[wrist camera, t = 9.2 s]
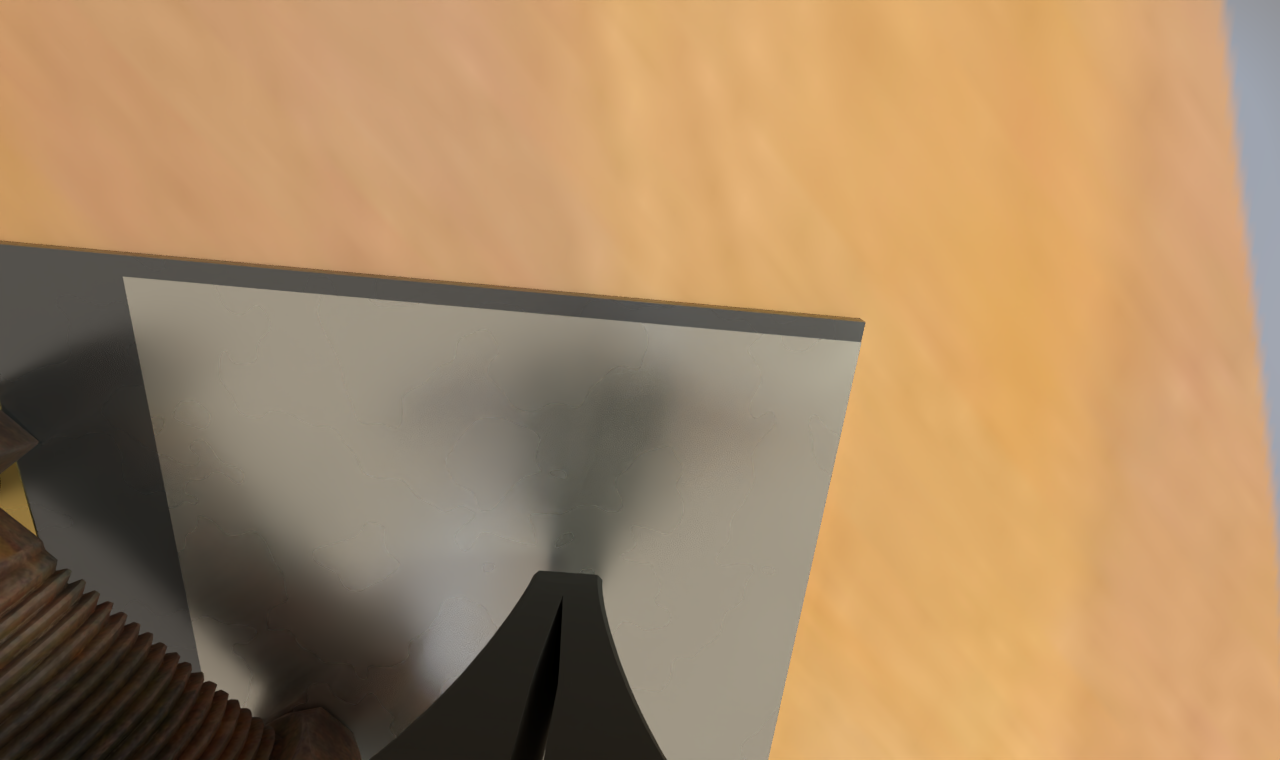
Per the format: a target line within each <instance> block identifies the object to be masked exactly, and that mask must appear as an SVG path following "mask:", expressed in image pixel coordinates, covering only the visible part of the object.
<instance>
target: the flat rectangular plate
mask: <svg viewBox="0 0 1280 760" xmlns="http://www.w3.org/2000/svg"><path fill="white" fill-rule="evenodd" d="M864 326H865V322H864V321H863V320H861V319H860V318H849V317H838V316H827V315H816V314H805V313H794V312H783V311H772V310H761V309H750V308H739V307H728V306H716V305H705V304H694V303H683V302H672V301H661V300H650V299H639V298H628V297H617V296H606V295H595V294H584V293H573V292H562V291H551V290H539V289H528V288H517V287H506V286H495V285H484V284H473V283H462V282H451V281H440V280H429V279H418V278H407V277H396V276H385V275H374V274H363V273H351V272H340V271H329V270H318V269H307V268H296V267H285V266H274V265H263V264H252V263H241V262H230V261H219V260H208V259H197V258H186V257H174V256H163V255H152V254H141V253H130V252H119V251H108V250H97V249H86V248H75V247H64V246H53V245H42V244H31V243H20V242H9V241H0V410H2V411H3V412H4V413H5V414H6V415H8V416H9V417H10V418H11V419H13V420H14V421H15V422H16V423H17V424H19V425H20V426H21V427H22V428H23V429H25V430H26V431H27V432H28V433H29V434H31V435H32V436H33V437H34V438H35V439H37V440H38V441H39V442H38V444H37V445H36V446H35V447H34V448H32V449H31V450H30V451H29V452H27V453H26V454H25V455H24V456H22V457H21V458H20V459H19V460H17V461H16V462H15V463H14V464H12V465H11V466H10V467H9V468H7V469H6V470H5V471H4V472H2V473H1V474H0V508H2V509H3V510H4V511H5V512H7V513H8V514H9V515H10V516H12V517H13V518H14V519H16V520H17V521H18V522H19V523H21V524H22V525H23V526H24V527H26V528H27V529H28V530H30V531H31V532H32V533H33V534H35V535H36V536H37V537H38V538H40V539H41V540H42V541H43V544H44V547H45V550H46V551H48V552H49V553H50V554H51V555H52V556H54V557H55V558H56V559H57V566H56V571H57V570H62V569H69V570H71V571H72V572H71V575H70V578H69V580H68V584H70V583H73V582H75V581H78V580H81V579H83V580H84V581H85V582H86V585H85V588H84V592H83V594H86V593H88V592H91V591H94V590H95V591H97V592H98V593H100V596H99V599H98V602H97V605H99V604H101V603H104V602H106V601H109V602H112V603H114V604H113V607H112V609H111V612H110V616H111V615H113V614H116V613H118V612H124V613H125V614H127V615H128V616H127V619H126V622H125V625H127V624H130V623H132V622H136V623H138V624H140V625H141V626H140V630H139V635H141V634H143V633H146V632H149V633H152V634H153V641H152V645H153V644H156V643H158V642H161V643H164V644H165V645H166V646H167V649H166V652H165V654H166V653H173V652H177V653H178V654H179V655H180V659H179V662H178V664H179V663H182V662H188V663H191V665H192V672H191V673H195V672H203V673H204V682H207V681H212V682H214V683H216V684H217V687H216V690H215V692H216V691H218V690H223V691H225V692H227V693H228V694H229V696H228V700H230V699H236V700H238V701H239V703H240V707H241V708H248V709H250V710H251V712H252V717H260V718H261V719H262V720H263V723H264V725H267V724H269V723H270V722H272V721H273V720H275V719H277V718H279V717H281V716H283V715H285V714H287V713H291V712H297V711H302V710H307V709H313V708H318V707H322V708H324V709H325V710H326V711H327V712H328V713H330V714H331V715H332V716H333V717H335V718H336V719H337V720H338V721H339V722H341V723H342V724H343V725H344V726H346V727H347V728H348V729H349V730H350V731H352V732H353V733H354V736H355V739H356V742H357V745H358V748H359V750H360V753H361V759H362V760H369V759H370V758H372V757H373V756H374V755H375V754H377V753H378V752H379V751H381V750H382V749H383V748H384V747H385V746H387V745H388V744H389V743H390V742H391V741H392V740H394V739H395V738H396V737H397V736H398V735H399V734H400V733H402V732H403V731H404V730H405V729H406V728H407V727H408V726H409V725H410V724H411V723H413V722H414V721H415V720H416V719H417V718H418V717H419V716H420V715H421V714H422V713H424V712H425V711H426V710H427V709H428V708H429V707H430V706H431V705H432V704H433V703H434V702H435V701H436V700H437V699H438V698H439V697H440V696H441V695H442V694H443V693H444V692H445V691H446V690H447V689H448V688H449V687H450V686H451V685H452V683H453V682H454V681H455V680H456V679H457V678H458V677H459V676H460V675H461V674H462V673H463V671H464V670H465V669H466V668H467V667H468V666H469V664H470V663H471V662H472V661H473V660H474V659H475V657H476V656H477V655H478V654H479V653H480V651H481V650H482V649H483V648H484V647H485V646H486V644H487V643H488V642H489V641H490V639H491V638H492V637H493V635H494V634H495V633H496V631H497V630H498V629H499V627H500V626H501V625H502V623H503V622H504V621H505V619H506V618H507V617H508V615H509V614H510V612H511V611H512V610H513V608H514V607H515V605H516V604H517V602H518V601H519V599H520V598H521V596H522V595H523V593H524V591H525V590H526V588H527V586H528V585H529V583H530V581H531V579H532V577H533V575H534V574H535V573H537V572H538V571H539V570H540V571H554V572H567V573H581V574H594V575H598V576H599V577H600V578H601V579H602V589H603V599H604V605H605V610H606V614H607V619H608V623H609V627H610V630H611V634H612V637H613V640H614V643H615V647H616V650H617V653H618V656H619V659H620V662H621V664H622V667H623V670H624V672H625V675H626V677H627V680H628V682H629V685H630V688H631V690H632V692H633V694H634V697H635V699H636V701H637V704H638V706H639V708H640V710H641V712H642V714H643V716H644V718H645V720H646V722H647V724H648V726H649V728H650V730H651V732H652V734H653V736H654V738H655V739H656V741H657V743H658V745H659V747H660V749H661V750H662V752H663V754H664V756H665V757H666V759H667V760H768V757H769V753H770V748H771V744H772V740H773V735H774V731H775V726H776V722H777V717H778V713H779V708H780V704H781V699H782V695H783V690H784V686H785V681H786V677H787V672H788V668H789V663H790V659H791V655H792V650H793V646H794V641H795V637H796V632H797V628H798V623H799V619H800V614H801V610H802V605H803V601H804V596H805V592H806V587H807V583H808V579H809V574H810V570H811V565H812V561H813V556H814V552H815V547H816V543H817V538H818V534H819V529H820V525H821V520H822V516H823V511H824V507H825V503H826V498H827V494H828V489H829V485H830V480H831V476H832V471H833V467H834V462H835V458H836V453H837V449H838V444H839V440H840V435H841V431H842V427H843V422H844V418H845V413H846V409H847V404H848V400H849V395H850V391H851V386H852V382H853V377H854V373H855V368H856V364H857V359H858V355H859V351H860V346H861V340H862V335H863V331H864ZM125 625H124V626H125ZM204 682H203V683H204ZM544 754H545V753H544ZM543 759H544V757H543Z"/></svg>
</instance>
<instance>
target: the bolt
mask: <svg viewBox="0 0 1280 760" xmlns="http://www.w3.org/2000/svg"><path fill="white" fill-rule="evenodd" d="M38 442H39V441H38V440H37V439H35V438H34V437H33V436H32V435H31V434H29V433H28V432H27V431H26V430H25V429H23V428H22V427H21V426H20V425H19V424H17V423H16V422H15V421H14V420H13V419H11V418H10V417H9V416H8V415H6V414H5V413H4V412H3V411H2V410H0V474H1V473H2V472H4V471H5V470H6V469H7V468H9V467H10V466H11V465H12V464H14V463H15V462H16V461H17V460H19V459H20V458H21V457H22V456H24V455H25V454H26V453H27V452H29V451H30V450H31V449H32V448H34V447H35V446H36V445H37V444H38ZM56 566H57V559H56V558H55V557H54V556H52V555H51V554H50V553H49V552H48V551H46V550H45V547H44V544H43V541H42V540H41V539H40V538H38V537H37V536H36V535H35V534H33V533H32V532H31V531H30V530H28V529H27V528H26V527H24V526H23V525H22V524H21V523H19V522H18V521H17V520H16V519H14V518H13V517H12V516H10V515H9V514H8V513H7V512H5V511H4V510H3V509H2V508H0V760H362V759H361V753H360V750H359V748H358V745H357V742H356V739H355V736H354V733H353V732H352V731H350V730H349V729H348V728H347V727H346V726H344V725H343V724H342V723H341V722H339V721H338V720H337V719H336V718H335V717H333V716H332V715H331V714H330V713H328V712H327V711H326V710H325V709H324V708H322V707H318V708H313V709H307V710H302V711H297V712H291V713H287V714H285V715H283V716H281V717H279V718H277V719H275V720H273V721H272V722H270V723H269V724H267V725H264V723H263V720H262V719H261V718H260V717H252V712H251V710H250V709H248V708H241V707H240V703H239V701H238V700H236V699H230V700H228V696H229V694H228V693H227V692H225V691H223V690H218V691H216V692H215V690H216V687H217V684H216V683H214V682H212V681H207V682H204V673H203V672H195V673H191V672H192V665H191V663H188V662H182V663H179V664H178V662H179V659H180V655H179V654H178V653H177V652H173V653H166V654H165V652H166V649H167V646H166V645H165V644H164V643H161V642H158V643H156V644H153V645H152V641H153V634H152V633H149V632H146V633H143V634H141V635H139V630H140V626H141V625H140V624H138V623H136V622H132V623H130V624H127V625H125V622H126V619H127V616H128V615H127V614H125V613H124V612H118V613H116V614H113V615H111V616H110V612H111V609H112V607H113V604H114V603H112V602H109V601H106V602H104V603H101V604H99V605H97V602H98V599H99V596H100V593H98V592H97V591H95V590H94V591H91V592H88V593H86V594H83V592H84V588H85V585H86V582H85V581H84V580H83V579H81V580H78V581H75V582H73V583H70V584H68V580H69V578H70V575H71V572H72V571H71V570H69V569H62V570H57V571H56ZM124 625H125V626H124ZM203 682H204V683H203Z"/></svg>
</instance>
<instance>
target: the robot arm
mask: <svg viewBox="0 0 1280 760" xmlns="http://www.w3.org/2000/svg"><path fill="white" fill-rule="evenodd" d="M544 753H545V754H544ZM543 757H544V759H543ZM369 760H667V759H666V757H665V756H664V754H663V752H662V750H661V749H660V747H659V745H658V743H657V741H656V739H655V738H654V736H653V734H652V732H651V730H650V728H649V726H648V724H647V722H646V720H645V718H644V716H643V714H642V712H641V710H640V708H639V706H638V704H637V701H636V699H635V697H634V694H633V692H632V690H631V688H630V685H629V682H628V680H627V677H626V675H625V672H624V670H623V667H622V664H621V662H620V659H619V656H618V653H617V650H616V647H615V643H614V640H613V637H612V634H611V630H610V627H609V623H608V619H607V614H606V610H605V605H604V599H603V589H602V579H601V578H600V577H599V576H598V575H594V574H581V573H567V572H554V571H540V570H539V571H538V572H537V573H535V574H534V575H533V577H532V579H531V581H530V583H529V585H528V586H527V588H526V590H525V591H524V593H523V595H522V596H521V598H520V599H519V601H518V602H517V604H516V605H515V607H514V608H513V610H512V611H511V612H510V614H509V615H508V617H507V618H506V619H505V621H504V622H503V623H502V625H501V626H500V627H499V629H498V630H497V631H496V633H495V634H494V635H493V637H492V638H491V639H490V641H489V642H488V643H487V644H486V646H485V647H484V648H483V649H482V650H481V651H480V653H479V654H478V655H477V656H476V657H475V659H474V660H473V661H472V662H471V663H470V664H469V666H468V667H467V668H466V669H465V670H464V671H463V673H462V674H461V675H460V676H459V677H458V678H457V679H456V680H455V681H454V682H453V683H452V685H451V686H450V687H449V688H448V689H447V690H446V691H445V692H444V693H443V694H442V695H441V696H440V697H439V698H438V699H437V700H436V701H435V702H434V703H433V704H432V705H431V706H430V707H429V708H428V709H427V710H426V711H425V712H424V713H422V714H421V715H420V716H419V717H418V718H417V719H416V720H415V721H414V722H413V723H411V724H410V725H409V726H408V727H407V728H406V729H405V730H404V731H403V732H402V733H400V734H399V735H398V736H397V737H396V738H395V739H394V740H392V741H391V742H390V743H389V744H388V745H387V746H385V747H384V748H383V749H382V750H381V751H379V752H378V753H377V754H375V755H374V756H373V757H372V758H370V759H369Z"/></svg>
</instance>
